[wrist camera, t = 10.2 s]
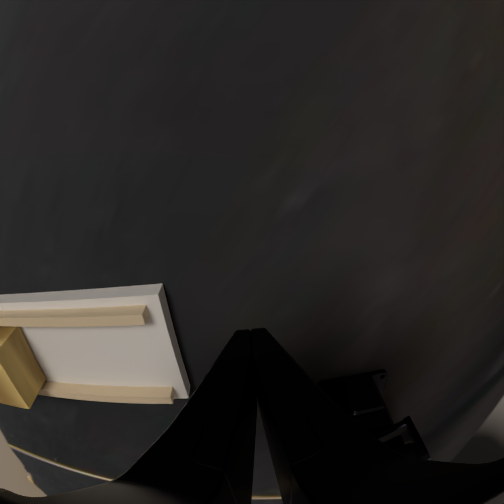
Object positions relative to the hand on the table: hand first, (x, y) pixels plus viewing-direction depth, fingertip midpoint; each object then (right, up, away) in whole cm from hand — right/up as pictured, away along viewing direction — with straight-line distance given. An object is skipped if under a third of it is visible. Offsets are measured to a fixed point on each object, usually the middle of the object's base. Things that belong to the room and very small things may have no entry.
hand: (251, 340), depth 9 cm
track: (-17, -5, +14) cm, 23 cm away
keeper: (-22, -6, +13) cm, 26 cm away
